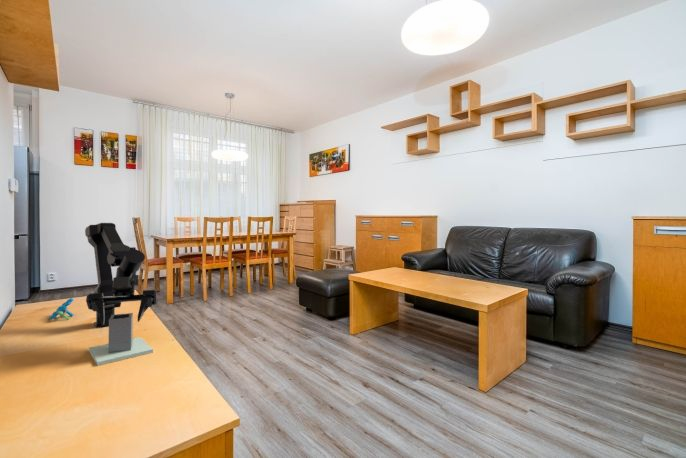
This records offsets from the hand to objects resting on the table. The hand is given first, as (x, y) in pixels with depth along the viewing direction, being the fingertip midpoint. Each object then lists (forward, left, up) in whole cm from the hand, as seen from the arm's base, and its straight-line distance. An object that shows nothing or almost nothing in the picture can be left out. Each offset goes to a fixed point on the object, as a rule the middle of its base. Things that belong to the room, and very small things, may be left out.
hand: (120, 322), depth 102 cm
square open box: (0, 0, -8) cm, 8 cm away
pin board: (0, 0, -9) cm, 9 cm away
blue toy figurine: (-52, -9, -9) cm, 54 cm away
